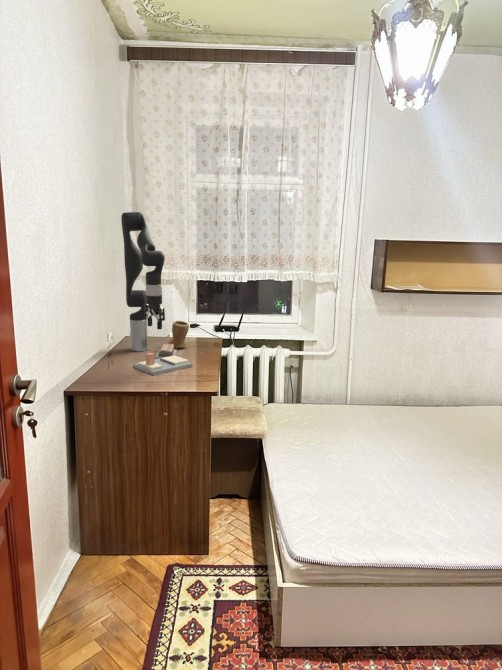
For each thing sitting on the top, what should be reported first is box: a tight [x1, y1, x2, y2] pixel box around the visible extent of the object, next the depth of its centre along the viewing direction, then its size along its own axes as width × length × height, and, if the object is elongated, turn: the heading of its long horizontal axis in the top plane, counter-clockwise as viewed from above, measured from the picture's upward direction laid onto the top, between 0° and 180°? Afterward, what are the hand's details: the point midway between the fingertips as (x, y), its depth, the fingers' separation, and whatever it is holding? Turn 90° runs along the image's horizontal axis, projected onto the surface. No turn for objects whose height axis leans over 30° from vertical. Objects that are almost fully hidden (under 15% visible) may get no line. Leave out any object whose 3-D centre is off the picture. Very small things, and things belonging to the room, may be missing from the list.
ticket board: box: [132, 355, 193, 376], centre depth 215 cm, size 18×22×2 cm
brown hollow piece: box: [167, 320, 190, 349], centre depth 255 cm, size 15×12×15 cm
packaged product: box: [155, 343, 178, 359], centre depth 237 cm, size 18×5×10 cm
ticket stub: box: [137, 352, 163, 370], centre depth 210 cm, size 12×6×6 cm, turn 45°
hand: (154, 327), depth 211 cm, fingers open, 8 cm apart
